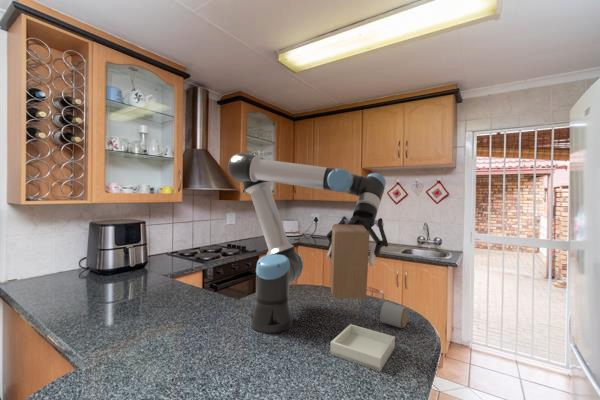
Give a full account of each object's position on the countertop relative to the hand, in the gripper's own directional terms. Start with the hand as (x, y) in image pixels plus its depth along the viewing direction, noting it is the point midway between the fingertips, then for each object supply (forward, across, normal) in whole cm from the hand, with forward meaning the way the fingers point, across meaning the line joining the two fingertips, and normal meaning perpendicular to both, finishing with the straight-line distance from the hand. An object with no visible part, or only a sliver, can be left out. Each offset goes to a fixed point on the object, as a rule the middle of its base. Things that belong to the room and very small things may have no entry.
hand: (348, 260), depth 86 cm
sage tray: (+18, -4, -20) cm, 27 cm away
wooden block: (+7, +1, -7) cm, 10 cm away
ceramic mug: (+1, -7, -38) cm, 39 cm away
